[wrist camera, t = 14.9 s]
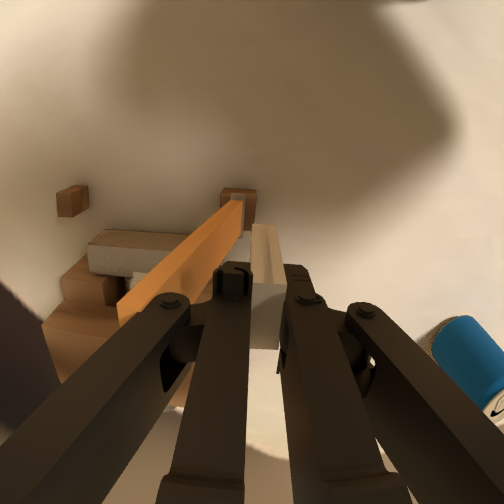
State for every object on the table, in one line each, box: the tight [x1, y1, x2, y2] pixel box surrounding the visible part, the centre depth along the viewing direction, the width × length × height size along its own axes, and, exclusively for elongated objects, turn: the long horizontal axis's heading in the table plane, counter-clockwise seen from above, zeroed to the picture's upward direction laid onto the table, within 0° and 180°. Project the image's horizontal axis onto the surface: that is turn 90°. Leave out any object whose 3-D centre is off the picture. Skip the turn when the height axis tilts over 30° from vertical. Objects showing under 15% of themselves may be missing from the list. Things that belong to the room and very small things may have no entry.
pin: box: [86, 229, 190, 412], centre depth 28 cm, size 18×9×4 cm, turn 176°
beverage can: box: [432, 315, 504, 424], centre depth 25 cm, size 6×6×12 cm
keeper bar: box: [117, 193, 246, 328], centre depth 16 cm, size 3×15×1 cm
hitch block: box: [41, 186, 256, 407], centre depth 24 cm, size 15×16×9 cm
